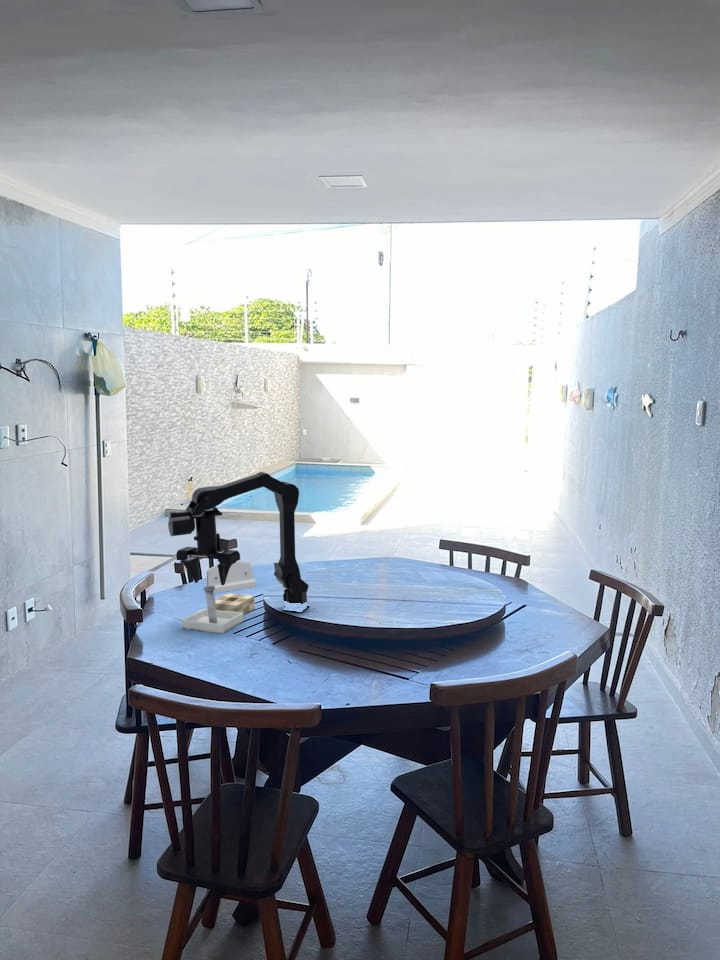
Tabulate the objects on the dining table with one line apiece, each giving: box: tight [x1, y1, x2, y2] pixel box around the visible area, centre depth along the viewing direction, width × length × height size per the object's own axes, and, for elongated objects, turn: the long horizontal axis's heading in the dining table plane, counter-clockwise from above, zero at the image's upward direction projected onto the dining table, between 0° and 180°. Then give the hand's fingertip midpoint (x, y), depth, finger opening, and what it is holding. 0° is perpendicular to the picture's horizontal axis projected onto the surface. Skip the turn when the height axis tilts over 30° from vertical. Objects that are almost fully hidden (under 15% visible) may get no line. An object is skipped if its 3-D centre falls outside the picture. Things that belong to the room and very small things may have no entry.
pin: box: [203, 585, 217, 624], centre depth 226 cm, size 3×3×11 cm
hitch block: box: [215, 592, 256, 616], centre depth 237 cm, size 10×10×4 cm
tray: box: [181, 608, 244, 635], centre depth 226 cm, size 14×11×2 cm
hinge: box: [206, 560, 257, 595], centre depth 263 cm, size 17×5×10 cm, turn 115°
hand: (209, 583), depth 224 cm, fingers open, 9 cm apart
